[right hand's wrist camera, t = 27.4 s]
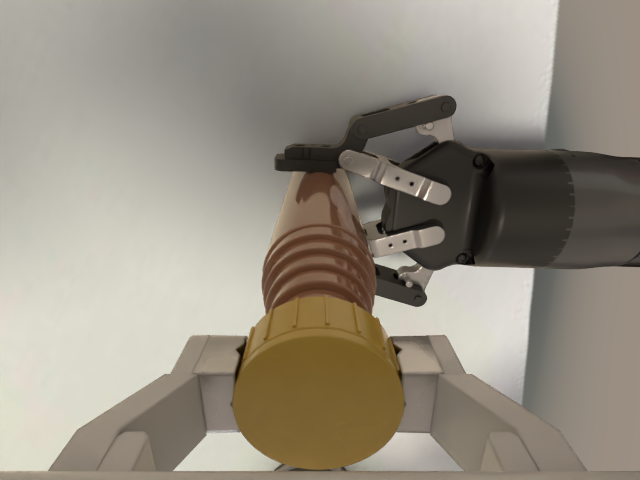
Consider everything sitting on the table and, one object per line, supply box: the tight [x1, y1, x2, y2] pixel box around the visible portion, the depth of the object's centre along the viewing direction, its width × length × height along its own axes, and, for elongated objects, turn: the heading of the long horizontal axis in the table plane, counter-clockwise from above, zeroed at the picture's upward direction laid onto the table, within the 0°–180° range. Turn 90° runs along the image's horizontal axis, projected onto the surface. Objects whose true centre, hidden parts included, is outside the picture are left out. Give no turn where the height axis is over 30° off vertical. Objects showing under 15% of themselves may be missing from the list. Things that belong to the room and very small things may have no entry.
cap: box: [232, 295, 405, 470], centre depth 10 cm, size 4×4×2 cm
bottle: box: [262, 169, 376, 315], centre depth 20 cm, size 4×4×23 cm
